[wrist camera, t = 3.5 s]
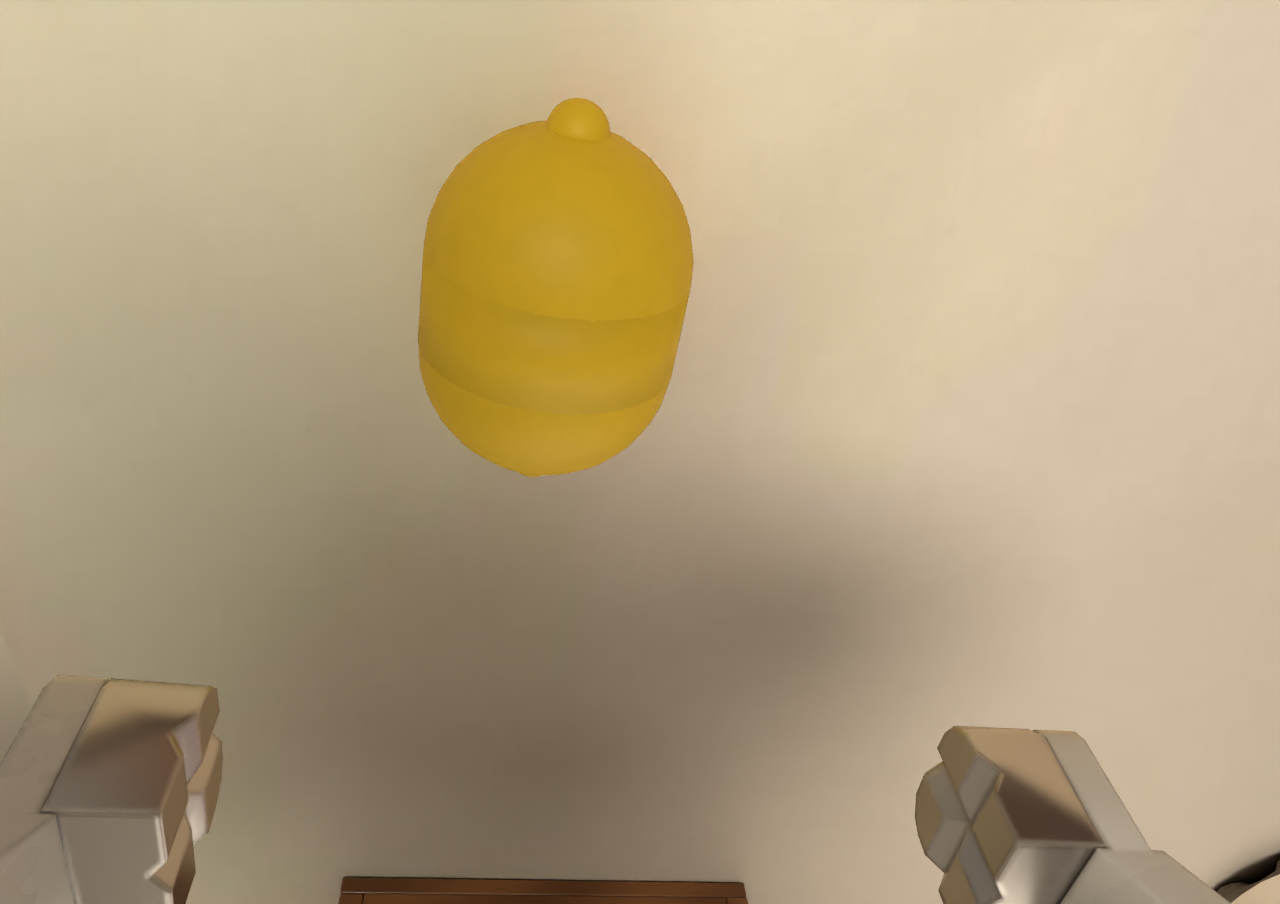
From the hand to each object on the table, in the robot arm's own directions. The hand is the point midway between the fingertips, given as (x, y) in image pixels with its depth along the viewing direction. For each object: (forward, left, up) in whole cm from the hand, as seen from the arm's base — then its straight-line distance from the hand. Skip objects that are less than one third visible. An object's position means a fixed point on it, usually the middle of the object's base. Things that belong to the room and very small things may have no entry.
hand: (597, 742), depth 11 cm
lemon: (0, 0, -14) cm, 14 cm away
